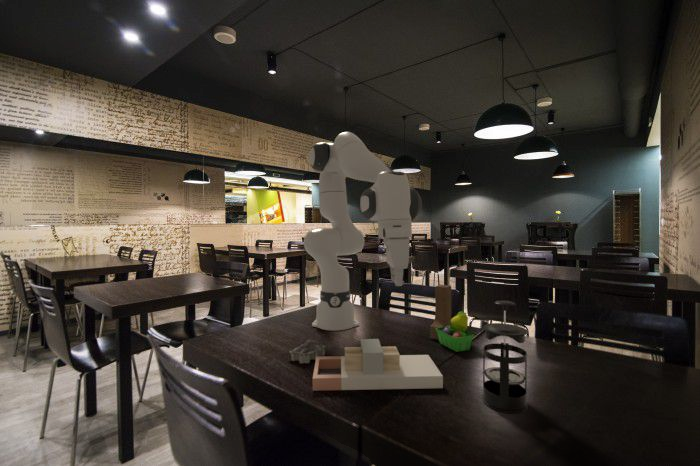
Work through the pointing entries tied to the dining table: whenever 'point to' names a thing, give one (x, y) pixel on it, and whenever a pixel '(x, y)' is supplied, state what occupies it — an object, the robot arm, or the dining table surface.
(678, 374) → the dining table surface
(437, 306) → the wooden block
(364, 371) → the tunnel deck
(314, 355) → the egg carton
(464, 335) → the fruit basket
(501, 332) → the french press
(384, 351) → the maple bar
